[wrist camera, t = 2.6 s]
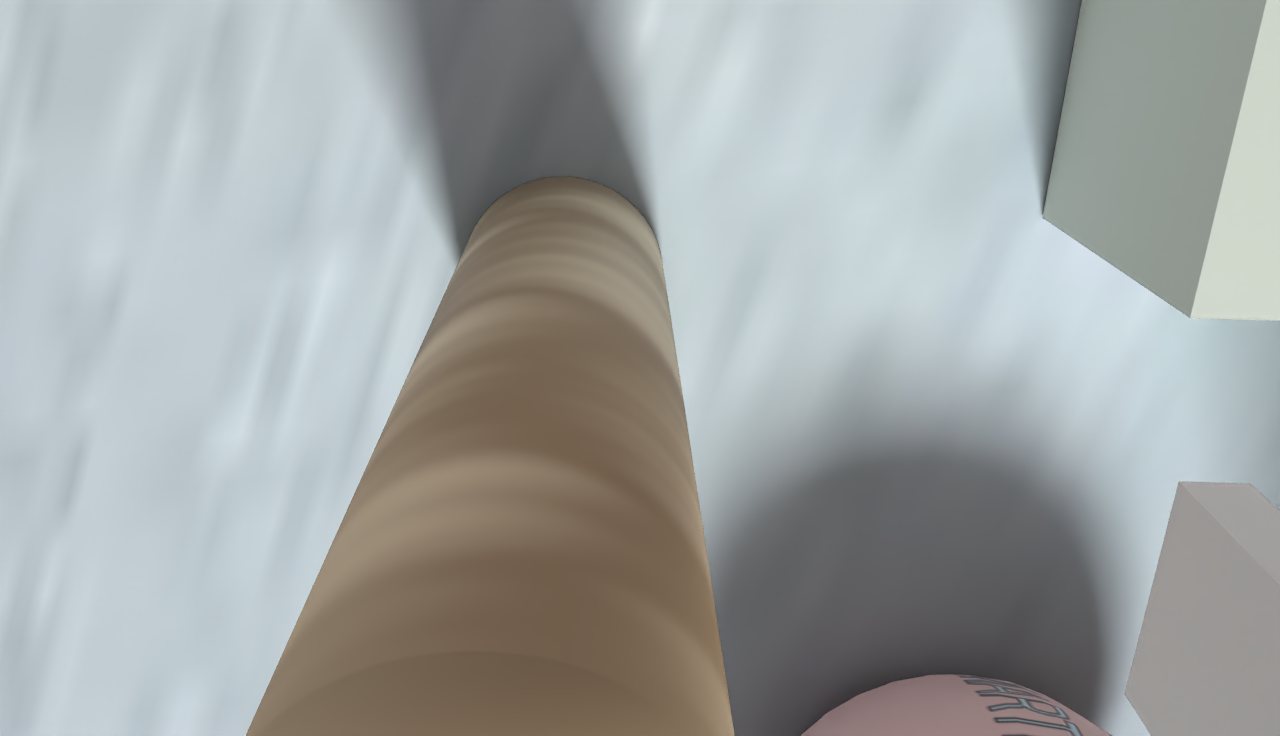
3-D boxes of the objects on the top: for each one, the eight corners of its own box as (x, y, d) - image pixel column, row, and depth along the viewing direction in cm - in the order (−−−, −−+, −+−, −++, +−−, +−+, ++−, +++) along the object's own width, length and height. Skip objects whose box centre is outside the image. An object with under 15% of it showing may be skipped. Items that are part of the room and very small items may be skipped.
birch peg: (465, 364, 23) (238, 1059, 9) (461, 173, 21) (178, 646, 7) (658, 369, 23) (732, 1059, 9) (668, 180, 21) (775, 655, 7)
